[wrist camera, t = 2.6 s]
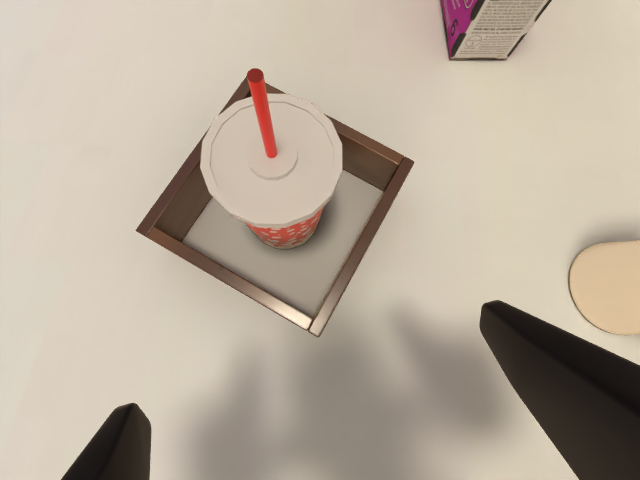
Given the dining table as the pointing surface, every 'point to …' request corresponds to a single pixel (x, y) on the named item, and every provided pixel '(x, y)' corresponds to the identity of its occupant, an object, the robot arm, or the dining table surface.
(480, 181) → the dining table surface
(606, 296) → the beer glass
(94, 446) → the robot arm
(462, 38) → the candy bar box
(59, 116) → the dining table surface
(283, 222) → the beverage cup
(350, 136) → the crate
